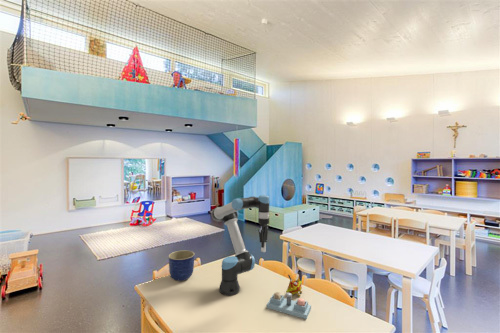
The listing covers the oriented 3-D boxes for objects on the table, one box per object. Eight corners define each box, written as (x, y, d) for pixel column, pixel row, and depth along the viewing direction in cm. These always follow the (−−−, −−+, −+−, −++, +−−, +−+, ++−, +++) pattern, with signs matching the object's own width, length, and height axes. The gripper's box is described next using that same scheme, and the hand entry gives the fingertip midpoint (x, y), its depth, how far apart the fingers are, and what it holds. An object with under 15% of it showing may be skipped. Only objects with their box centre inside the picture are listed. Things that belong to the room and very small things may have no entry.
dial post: (285, 305, 160) (285, 294, 160) (287, 302, 163) (287, 292, 163) (290, 306, 158) (290, 296, 158) (292, 303, 161) (292, 293, 161)
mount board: (266, 307, 161) (266, 299, 161) (273, 298, 172) (273, 291, 172) (306, 319, 149) (306, 310, 149) (311, 309, 160) (311, 300, 160)
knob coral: (296, 312, 156) (296, 301, 156) (298, 308, 160) (298, 297, 160) (303, 314, 154) (303, 302, 154) (305, 310, 158) (305, 299, 158)
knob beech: (272, 305, 163) (272, 294, 163) (275, 302, 167) (275, 291, 167) (279, 307, 161) (279, 296, 161) (281, 303, 165) (281, 293, 165)
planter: (162, 279, 199) (162, 255, 198) (182, 270, 216) (182, 248, 216) (180, 286, 188) (180, 261, 188) (199, 276, 205) (199, 253, 205)
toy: (302, 297, 170) (291, 276, 173) (289, 301, 174) (279, 281, 177) (306, 288, 182) (296, 269, 186) (294, 292, 186) (285, 273, 189)
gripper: (265, 220, 165) (264, 255, 165) (272, 216, 177) (271, 249, 177) (254, 219, 168) (254, 253, 169) (262, 215, 180) (262, 247, 180)
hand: (263, 251), depth 173 cm, fingers closed
